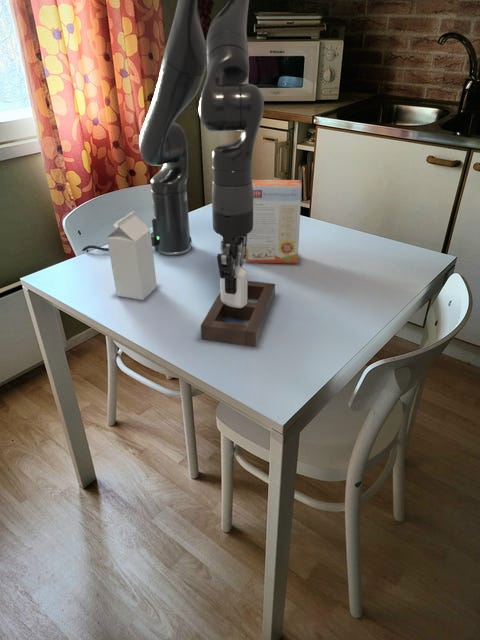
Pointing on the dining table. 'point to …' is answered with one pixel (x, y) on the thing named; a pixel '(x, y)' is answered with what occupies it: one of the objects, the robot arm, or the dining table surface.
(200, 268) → the dining table surface
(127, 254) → the milk carton
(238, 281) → the eye dropper bottle
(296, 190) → the cracker box
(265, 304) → the holder
